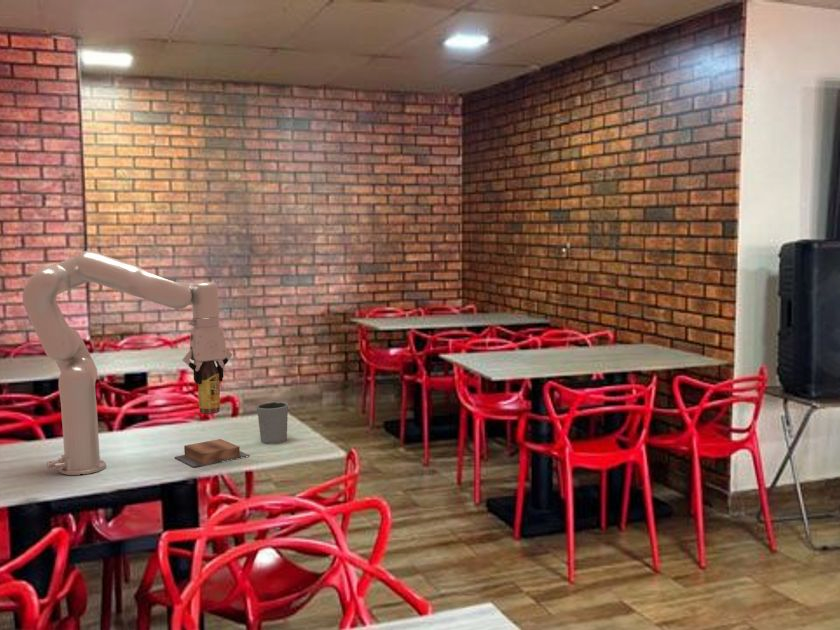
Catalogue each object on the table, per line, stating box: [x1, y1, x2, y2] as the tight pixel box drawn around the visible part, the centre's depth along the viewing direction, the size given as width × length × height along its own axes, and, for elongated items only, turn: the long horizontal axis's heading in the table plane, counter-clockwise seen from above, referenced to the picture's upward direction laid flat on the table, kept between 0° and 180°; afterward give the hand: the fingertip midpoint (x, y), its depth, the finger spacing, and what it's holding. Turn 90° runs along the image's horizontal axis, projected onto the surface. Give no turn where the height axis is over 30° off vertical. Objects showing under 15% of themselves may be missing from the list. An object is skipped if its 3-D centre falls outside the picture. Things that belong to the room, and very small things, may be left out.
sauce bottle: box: [197, 361, 221, 415], centre depth 248 cm, size 6×6×20 cm
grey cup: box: [256, 401, 289, 445], centre depth 269 cm, size 10×10×12 cm
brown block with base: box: [174, 438, 250, 469], centre depth 250 cm, size 18×14×4 cm
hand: (208, 381), depth 248 cm, fingers closed on sauce bottle, 6 cm apart
